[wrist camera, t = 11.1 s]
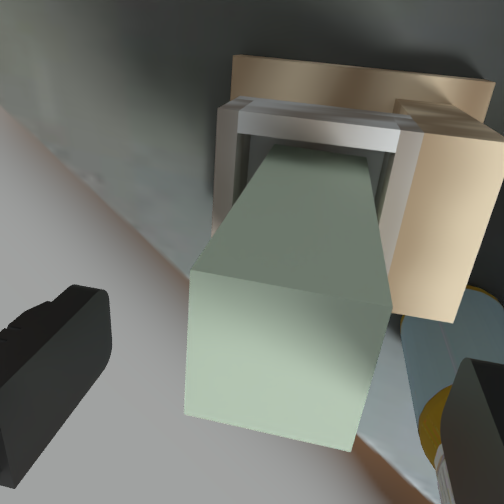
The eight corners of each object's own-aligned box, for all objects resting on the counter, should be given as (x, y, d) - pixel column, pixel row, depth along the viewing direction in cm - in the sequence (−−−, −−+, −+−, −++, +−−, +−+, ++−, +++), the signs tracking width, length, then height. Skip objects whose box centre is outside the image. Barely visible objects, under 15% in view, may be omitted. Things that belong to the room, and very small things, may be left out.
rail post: (366, 157, 19) (392, 306, 8) (347, 241, 21) (350, 452, 10) (274, 143, 20) (190, 269, 9) (264, 226, 21) (183, 414, 11)
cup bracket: (485, 79, 25) (589, 110, 14) (436, 241, 29) (488, 356, 19) (240, 54, 27) (170, 65, 16) (229, 210, 31) (170, 299, 20)
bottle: (467, 260, 30) (566, 442, 16) (524, 332, 31) (659, 553, 18) (379, 313, 32) (402, 503, 19) (435, 376, 34) (493, 594, 21)
